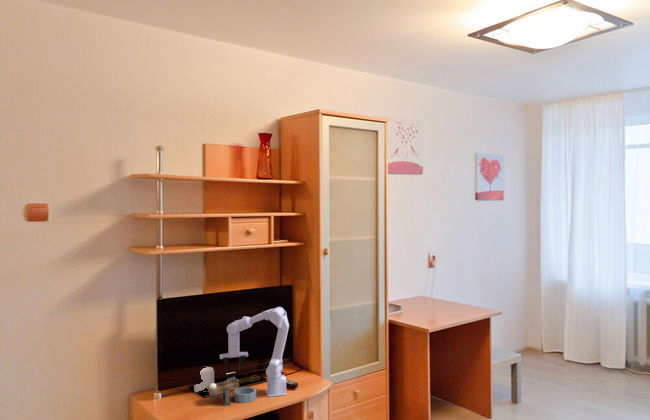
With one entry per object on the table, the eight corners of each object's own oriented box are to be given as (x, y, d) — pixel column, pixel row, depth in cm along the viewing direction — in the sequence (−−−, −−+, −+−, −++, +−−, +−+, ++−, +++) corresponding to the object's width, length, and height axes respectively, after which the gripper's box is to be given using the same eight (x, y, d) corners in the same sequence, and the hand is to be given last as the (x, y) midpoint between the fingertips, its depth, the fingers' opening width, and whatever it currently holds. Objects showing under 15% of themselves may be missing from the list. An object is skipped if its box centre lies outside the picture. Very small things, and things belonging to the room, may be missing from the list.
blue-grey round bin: (253, 393, 262) (253, 385, 262) (257, 401, 252) (257, 393, 252) (233, 396, 258) (233, 388, 258) (236, 403, 248) (236, 395, 248)
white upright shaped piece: (194, 392, 263) (194, 369, 263) (194, 390, 267) (194, 366, 267) (214, 391, 265) (214, 367, 265) (214, 388, 269) (214, 365, 269)
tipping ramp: (235, 382, 264) (234, 373, 264) (240, 392, 250) (238, 383, 250) (207, 390, 260) (206, 381, 260) (210, 400, 246) (208, 391, 245)
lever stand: (227, 396, 258) (227, 381, 258) (230, 405, 247) (230, 389, 247) (221, 397, 257) (221, 382, 257) (224, 405, 246) (224, 390, 246)
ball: (217, 385, 252) (212, 380, 252) (218, 388, 249) (213, 383, 248) (212, 390, 251) (207, 385, 251) (212, 393, 248) (207, 388, 247)
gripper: (246, 342, 273) (246, 367, 273) (219, 344, 268) (219, 370, 269) (248, 345, 266) (248, 371, 266) (220, 348, 262) (220, 374, 262)
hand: (234, 371), depth 267 cm, fingers open, 6 cm apart
